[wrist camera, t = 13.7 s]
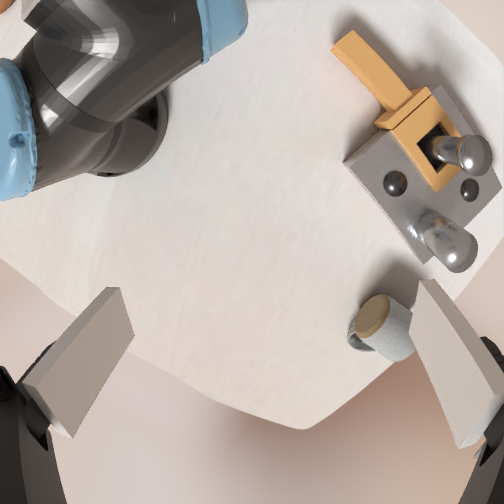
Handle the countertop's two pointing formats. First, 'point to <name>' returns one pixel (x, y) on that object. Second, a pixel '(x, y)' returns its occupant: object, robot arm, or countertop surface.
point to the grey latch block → (425, 193)
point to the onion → (4, 5)
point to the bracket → (399, 105)
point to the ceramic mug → (383, 328)
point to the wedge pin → (459, 151)
